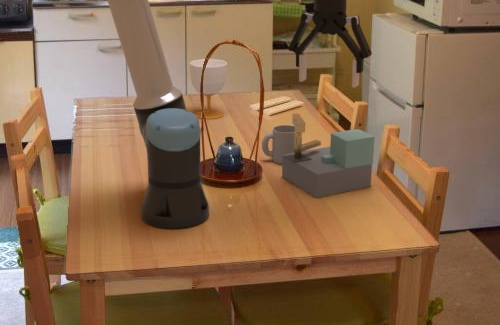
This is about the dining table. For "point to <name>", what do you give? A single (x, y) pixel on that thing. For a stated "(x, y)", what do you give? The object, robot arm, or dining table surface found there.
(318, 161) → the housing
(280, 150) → the cup
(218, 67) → the cup
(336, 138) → the cover
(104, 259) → the dining table surface
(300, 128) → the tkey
